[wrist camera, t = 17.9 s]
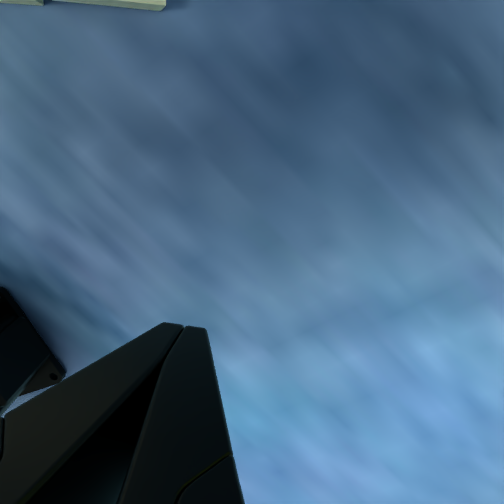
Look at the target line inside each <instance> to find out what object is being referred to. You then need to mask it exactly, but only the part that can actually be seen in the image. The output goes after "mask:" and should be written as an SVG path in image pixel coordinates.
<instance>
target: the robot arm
mask: <svg viewBox="0 0 504 504" xmlns="http://www.w3.org/2000/svg"><path fill="white" fill-rule="evenodd" d="M0 297H1V298H0V504H245V502H244V498H243V494H242V490H241V486H240V482H239V478H238V474H237V469H236V464H235V460H234V457H233V451H232V447H231V442H230V437H229V433H228V428H227V423H226V418H225V414H224V409H223V404H222V399H221V395H220V390H219V385H218V380H217V376H216V371H215V366H214V361H213V357H212V352H211V347H210V343H209V338H208V333H207V330H206V329H205V328H201V327H194V326H186V327H185V328H184V326H183V325H180V324H174V323H167V322H163V323H161V324H159V325H157V326H156V327H154V328H152V329H150V330H149V331H147V332H145V333H144V334H142V335H140V336H138V337H137V338H135V339H133V340H132V341H130V342H128V343H126V344H125V345H123V346H121V347H120V348H118V349H116V350H114V351H113V352H111V353H109V354H108V355H106V356H104V357H102V358H101V359H99V360H97V361H96V362H94V363H92V364H90V365H89V366H87V367H85V368H84V369H82V370H80V371H78V372H77V373H75V374H73V375H71V376H70V377H68V378H66V379H65V380H63V378H64V377H65V371H64V369H63V368H62V366H61V365H60V364H59V362H58V361H57V359H56V358H55V357H54V355H53V354H52V352H51V351H50V350H49V348H48V347H47V345H46V344H45V342H44V341H43V340H42V338H41V337H40V335H39V334H38V333H37V331H36V330H35V328H34V327H33V326H32V324H31V323H30V321H29V320H28V319H27V317H26V316H25V314H24V313H23V312H22V310H21V309H20V307H19V306H18V305H17V303H16V302H15V300H14V299H13V298H12V296H11V295H10V293H9V292H8V291H7V290H6V289H5V288H3V287H0ZM55 374H56V375H55ZM62 380H63V381H62ZM55 384H56V385H55ZM52 385H54V386H53V387H51V388H49V389H47V390H46V391H44V392H42V393H41V394H39V395H37V396H35V397H34V398H32V399H30V400H29V401H27V402H25V403H23V404H22V405H20V406H18V407H17V408H15V409H13V410H11V411H10V412H8V413H6V414H5V416H4V418H3V417H1V415H2V414H3V413H4V412H5V411H6V410H7V409H8V407H9V406H10V405H11V404H12V403H13V402H14V401H15V399H16V398H17V397H18V396H21V395H24V394H27V393H30V392H33V391H36V390H39V389H43V388H46V387H49V386H52Z"/></svg>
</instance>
